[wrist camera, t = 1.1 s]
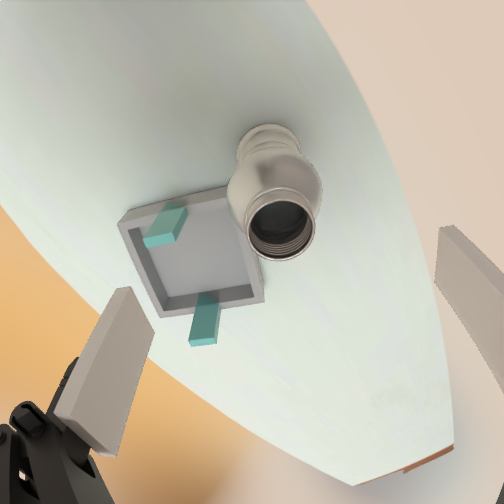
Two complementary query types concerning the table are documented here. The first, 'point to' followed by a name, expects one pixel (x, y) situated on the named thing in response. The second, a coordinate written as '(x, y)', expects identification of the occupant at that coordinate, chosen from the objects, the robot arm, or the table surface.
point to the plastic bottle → (274, 193)
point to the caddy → (193, 259)
